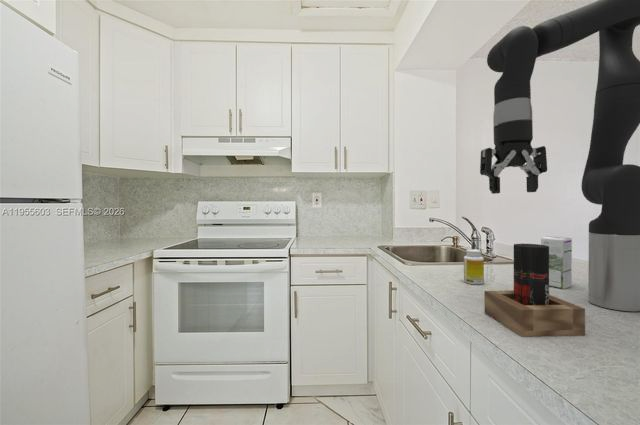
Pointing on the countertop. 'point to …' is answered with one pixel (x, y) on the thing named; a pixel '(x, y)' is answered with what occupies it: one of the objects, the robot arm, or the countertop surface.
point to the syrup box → (559, 261)
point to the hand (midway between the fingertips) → (513, 192)
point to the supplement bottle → (474, 267)
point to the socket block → (535, 315)
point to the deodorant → (531, 274)
